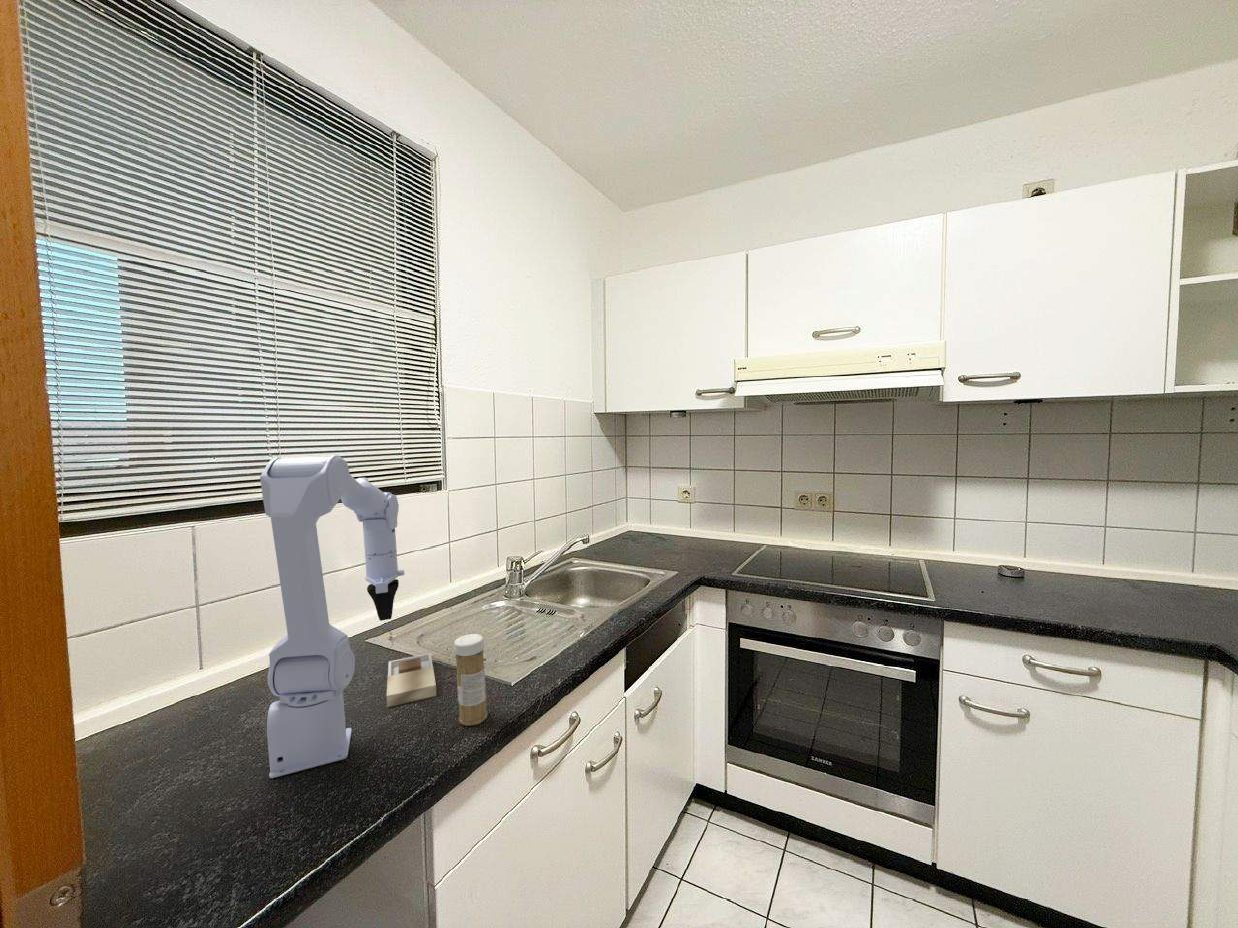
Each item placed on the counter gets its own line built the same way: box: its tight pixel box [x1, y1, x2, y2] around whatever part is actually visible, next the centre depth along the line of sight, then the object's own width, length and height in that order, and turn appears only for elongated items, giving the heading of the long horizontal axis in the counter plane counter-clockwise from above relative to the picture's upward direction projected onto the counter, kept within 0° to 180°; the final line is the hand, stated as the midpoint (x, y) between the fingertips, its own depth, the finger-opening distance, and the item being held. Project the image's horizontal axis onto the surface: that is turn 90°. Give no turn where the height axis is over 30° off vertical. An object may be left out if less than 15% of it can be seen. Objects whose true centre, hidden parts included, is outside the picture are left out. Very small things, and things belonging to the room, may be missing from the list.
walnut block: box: [399, 658, 421, 674], centre depth 97 cm, size 4×4×2 cm
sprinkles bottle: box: [453, 633, 488, 727], centre depth 80 cm, size 5×5×13 cm
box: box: [387, 652, 434, 677], centre depth 98 cm, size 8×8×2 cm
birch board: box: [386, 666, 437, 708], centre depth 91 cm, size 8×8×2 cm
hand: (385, 618), depth 99 cm, fingers closed
